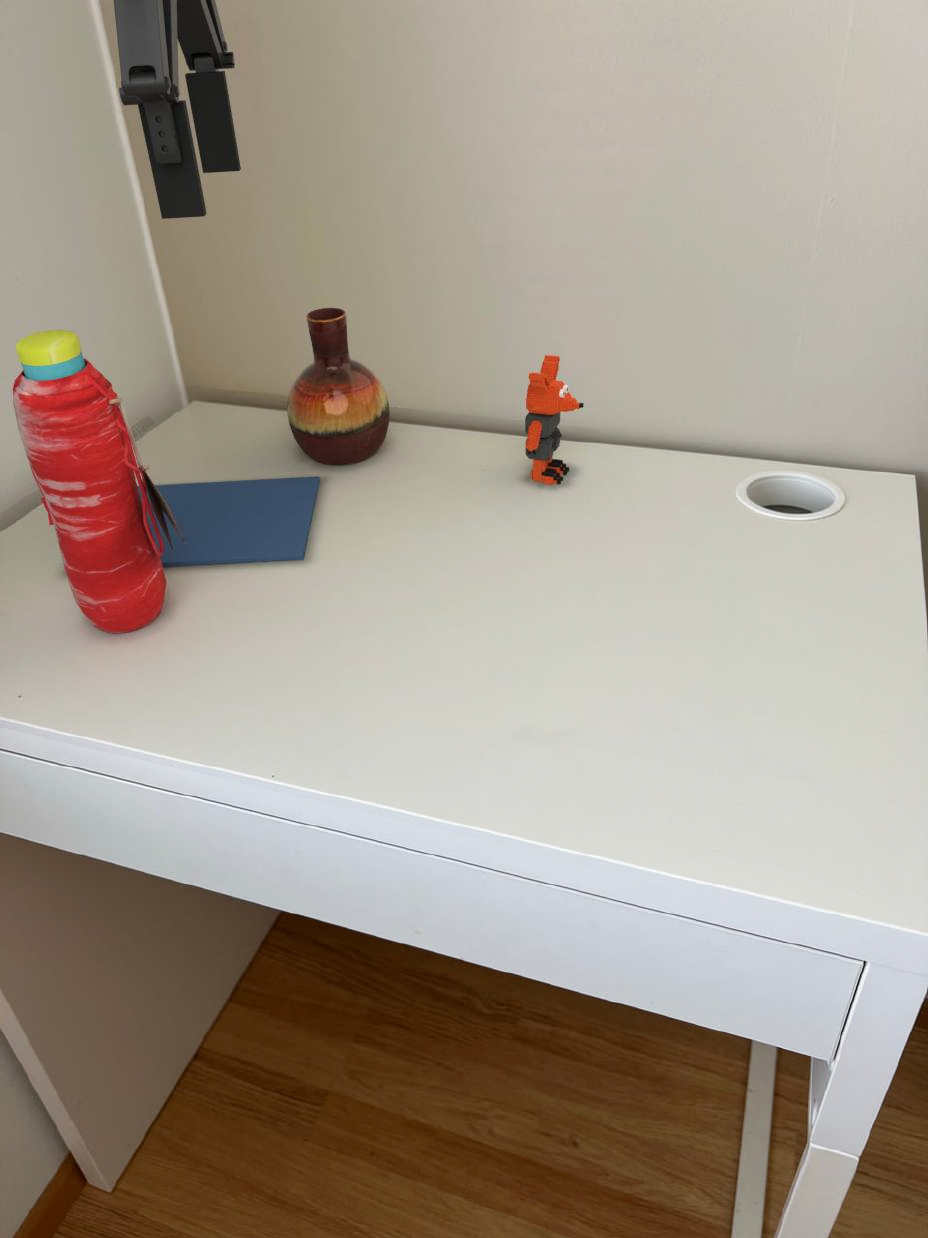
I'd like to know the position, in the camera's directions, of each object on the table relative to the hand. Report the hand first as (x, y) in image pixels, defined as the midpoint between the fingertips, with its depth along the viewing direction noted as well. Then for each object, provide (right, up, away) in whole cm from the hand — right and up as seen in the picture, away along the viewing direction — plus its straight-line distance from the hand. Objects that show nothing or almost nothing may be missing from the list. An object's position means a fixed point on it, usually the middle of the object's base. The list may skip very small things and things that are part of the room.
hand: (204, 192), depth 69 cm
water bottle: (-10, -29, +18) cm, 36 cm away
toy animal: (+28, -15, +36) cm, 47 cm away
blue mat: (-8, -20, +31) cm, 38 cm away
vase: (+4, -11, +43) cm, 45 cm away
